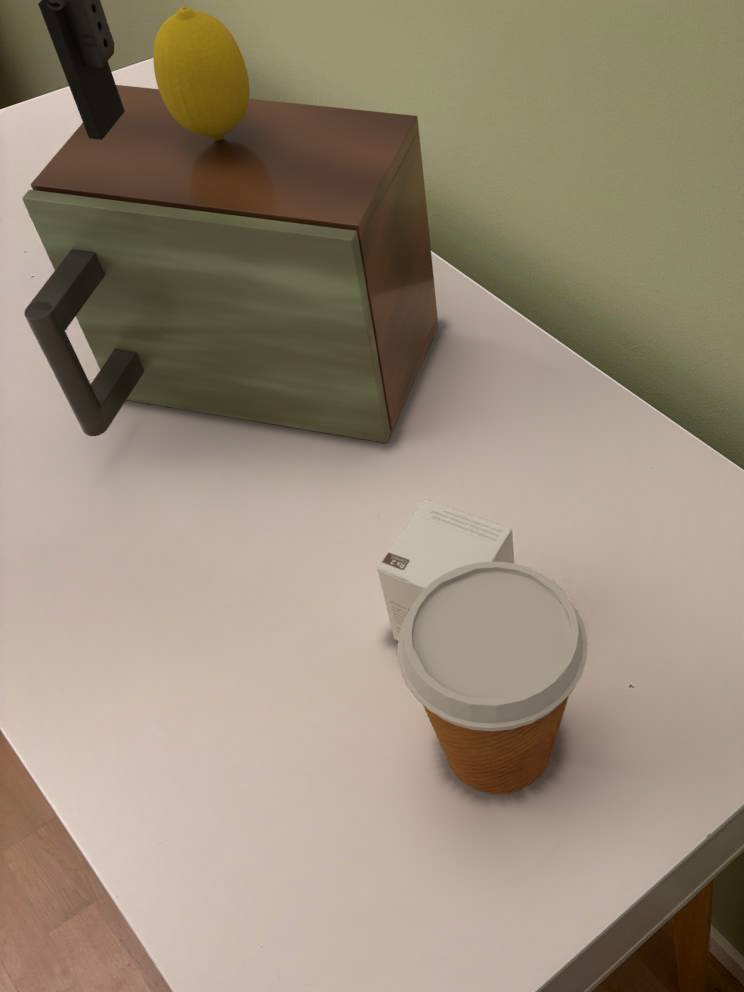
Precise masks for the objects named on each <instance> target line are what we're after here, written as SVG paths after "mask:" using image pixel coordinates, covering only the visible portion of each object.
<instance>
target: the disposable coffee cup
mask: <svg viewBox="0 0 744 992" xmlns="http://www.w3.org/2000/svg"><path fill="white" fill-rule="evenodd" d="M588 645H589V643H588V634H587V631H586V626H585V624H584V622H583V619H582V616H581V615H580V612H579V611H578V609H577V608H576V607H575V605H574V604H573V603H572V602H571V600H570V599H569V597H568V595H567V594H566V593H565V592H564V591H563V590H562V588H561V587H559V585H558V584H557V583H555V582H554V581H553V580H552V579H550V578H549V577H547V576H546V575H544V574H542V572H539V571H537V570H535V569H532V568H530V567H528V566H526V565H522V564H516V563H514V564H513V563H507V562H481V563H475V564H469V565H466V566H462V567H459V568H456V569H454V570H452V571H450V572H448V573H445V574H444V575H442V576H440V577H439V578H437V579H436V580H434V581H433V582H432V583H431V584H430V585H429V586H427V587H426V588H425V589H424V590H423V591H422V592H421V594H420V595H419V596H418V598H417V599H416V600H415V602H414V604H413V606H412V607H411V609H410V611H409V613H408V615H407V616H406V618H405V620H404V622H403V625H402V628H401V630H400V633H399V639H398V641H397V646H396V648H397V662H398V667H399V669H400V673H401V676H402V678H403V681H404V684H405V685H406V687H407V688H408V689H409V691H410V692H411V694H412V695H413V697H414V698H415V699H416V700H417V701H418V702H419V703H420V704H421V705H422V706H423V708H424V711H425V713H426V715H427V717H428V719H429V722H430V725H431V726H432V729H433V731H434V733H435V736H436V737H437V740H438V742H439V743H440V746H441V748H442V751H443V752H444V755H445V757H446V760H447V762H448V765H449V767H450V769H451V770H452V771H453V773H454V775H455V776H456V777H457V778H458V779H459V780H460V781H461V782H462V783H464V784H465V785H467V786H468V787H470V788H472V789H475V790H477V791H479V792H483V793H488V794H491V795H492V794H496V795H501V794H510V793H515V792H519V791H521V790H523V789H524V788H526V787H528V786H530V785H532V784H534V782H536V781H538V779H539V778H540V777H541V776H542V775H543V774H544V772H545V771H546V769H547V767H548V765H549V764H550V762H551V760H552V756H553V751H554V747H555V744H556V741H557V737H558V734H559V730H560V727H561V723H562V720H563V717H564V713H565V710H566V707H567V703H568V700H569V696H570V695H571V694H572V693H573V692H574V690H575V688H576V686H577V684H578V683H579V681H580V680H581V678H582V675H583V672H584V669H585V665H586V662H587V659H588V658H587V657H588Z"/></svg>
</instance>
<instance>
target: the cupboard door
mask: <svg viewBox="0 0 744 992" xmlns="http://www.w3.org/2000/svg"><path fill="white" fill-rule="evenodd" d="M21 200H22V203H23V205H24V207H25V208H26V211H27V213H28V215H29V217H30V219H31V223H32V224H33V227H34V228H35V230H36V233H37V235H38V237H39V239H40V241H41V243H42V246H43V248H44V250H45V253H46V254H47V257H48V259H49V262H50V263H51V266H52V268H53V270H54V271H53V272H52V273H51V275H50V277H49V278H47V280H46V282H45V283H44V284H43V286H42V287H41V288H40V290H39V291H38V292H37V293H36V294H35V296H34V297H33V298H32V300H31V301H30V303H29V304H28V305H27V306H26V307H25V309H24V313H23V315H24V317H25V320H26V321H27V323H28V325H29V327H30V329H31V332H32V334H33V335H34V337H35V340H36V341H37V343H38V345H39V348H40V350H41V351H42V353H43V355H44V358H45V359H46V361H47V363H48V365H49V367H50V369H51V371H52V373H53V375H54V377H55V378H56V380H57V382H58V385H59V386H60V388H61V390H62V392H63V394H64V396H65V398H66V400H67V402H68V404H69V407H70V408H71V410H72V412H73V414H74V417H75V418H76V420H77V423H78V424H79V426H80V428H81V430H82V432H83V434H85V435H86V436H88V437H98V436H101V435H103V434H104V433H105V432H107V430H108V429H109V428H110V426H111V425H112V423H113V421H114V420H115V418H116V416H117V415H118V414H119V412H120V411H121V409H122V408H123V406H124V404H125V403H126V401H131V402H136V403H137V402H138V403H144V404H150V405H156V406H162V407H168V408H174V409H180V410H185V411H186V410H187V411H191V412H197V413H204V414H210V415H216V416H223V417H228V418H233V419H241V420H245V421H252V422H258V423H263V424H264V423H265V424H271V425H277V426H284V427H288V428H295V429H301V430H307V431H313V432H320V433H325V434H331V435H336V436H337V435H338V436H342V437H343V436H344V437H350V438H356V439H363V440H368V441H374V442H379V443H385V444H386V443H388V440H389V438H390V436H391V433H392V432H390V427H389V421H388V415H387V409H386V403H385V397H384V391H383V385H382V379H381V373H380V367H379V361H378V355H377V349H376V343H375V337H374V330H373V324H372V318H371V312H370V306H369V300H368V294H367V288H366V282H365V276H364V270H363V264H362V258H361V252H360V246H359V240H358V234H357V231H354V230H347V229H339V228H331V227H323V226H315V225H307V224H299V223H291V222H283V221H275V220H267V219H259V218H251V217H243V216H235V215H227V214H220V213H212V212H204V211H196V210H188V209H180V208H172V207H164V206H156V205H148V204H140V203H132V202H124V201H116V200H108V199H100V198H92V197H85V196H77V195H69V194H61V193H53V192H45V191H37V190H33V189H28V190H27V191H26V193H24V195H23V196H22V198H21ZM75 318H76V320H77V322H78V325H79V326H80V329H81V330H82V333H83V335H84V337H85V340H86V342H87V344H88V347H89V348H90V350H91V353H92V355H93V357H94V359H95V361H96V364H97V365H98V368H99V371H98V372H97V374H96V375H95V377H94V379H92V381H91V383H90V380H89V378H88V377H87V374H86V372H85V369H84V368H83V365H82V363H81V361H80V359H79V357H78V355H77V352H76V351H75V349H74V347H73V344H72V342H71V340H70V338H69V336H68V334H67V332H66V331H67V329H68V328H69V326H70V325H71V323H72V322H73V321H74V319H75Z"/></svg>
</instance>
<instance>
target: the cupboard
mask: <svg viewBox="0 0 744 992" xmlns="http://www.w3.org/2000/svg"><path fill="white" fill-rule="evenodd" d="M116 87H117V90H118V93H119V96H120V99H121V101H122V104H123V107H124V110H125V112H124V113H123V114H122V116H121V117H120V118H119V119H118V121H117V122H116V123H115V124H114V126H113V127H112V128H111V129H110V131H109V132H108V133H107V134H106V136H105V137H104V138H103V139H102V140H98V139H89V137H88V135H87V132H86V129H85V127H84V124H83V122H82V123H81V124H80V125H79V126H80V127H79V126H78V127H79V128H78V127H77V128H78V129H77V128H76V129H77V130H76V131H75V130H74V131H75V132H74V131H73V134H72V135H71V136H70V137H69V138H68V140H66V142H65V143H64V144H63V145H62V147H61V148H59V149H58V151H57V152H56V154H55V155H54V156H52V158H51V160H50V161H49V162H48V163H47V164H46V165H45V166H44V168H43V169H42V170H41V172H39V173H38V175H37V176H36V177H35V178H34V179H33V181H32V182H31V183H30V187H31V190H37V191H45V192H53V193H61V194H69V195H77V196H85V197H92V198H100V199H108V200H116V201H124V202H132V203H140V204H148V205H156V206H164V207H172V208H180V209H188V210H196V211H204V212H212V213H220V214H227V215H235V216H243V217H251V218H259V219H267V220H275V221H283V222H291V223H299V224H307V225H315V226H323V227H331V228H339V229H347V230H354V231H357V234H358V240H359V246H360V252H361V258H362V264H363V270H364V276H365V282H366V288H367V294H368V300H369V306H370V312H371V318H372V324H373V330H374V337H375V343H376V349H377V355H378V361H379V367H380V373H381V379H382V385H383V391H384V397H385V403H386V409H387V415H388V421H389V427H390V433H392V432H393V431H394V429H395V427H396V424H397V423H398V420H399V417H400V415H401V413H402V410H403V408H404V406H405V404H406V401H407V399H408V397H409V394H410V392H411V389H412V387H413V385H414V383H415V380H416V378H417V376H418V373H419V370H420V369H421V368H422V364H423V362H424V359H425V358H426V356H427V353H428V351H429V348H430V346H431V343H432V342H433V339H434V336H435V334H436V332H437V330H438V327H439V319H438V318H439V317H438V307H437V297H436V286H435V277H434V266H433V257H432V248H431V236H430V226H429V218H428V206H427V196H426V188H425V178H424V167H423V155H422V147H421V137H420V128H419V120H418V119H419V117H418V115H412V114H402V113H394V112H383V111H374V110H373V111H372V110H366V109H365V110H364V109H354V108H346V107H345V108H344V107H334V106H325V105H317V104H308V103H307V104H306V103H295V102H288V101H277V100H266V99H258V98H249V100H248V106H247V110H246V112H245V114H244V116H243V118H242V120H241V121H240V123H239V124H238V125H237V126H236V127H235V128H234V129H232V130H231V131H229V132H228V133H226V135H225V136H224V138H223V139H222V140H218V141H217V140H214V139H212V138H210V137H209V136H201V135H198V134H195V133H193V132H191V131H189V130H187V129H186V128H184V127H183V126H182V125H181V124H179V123H178V122H177V121H176V120H175V119H174V118H173V116H172V115H171V114H170V112H169V111H168V109H167V107H166V105H165V103H164V101H163V99H162V97H161V94H160V92H159V89H158V88H150V87H142V86H132V85H131V86H130V85H120V84H116Z"/></svg>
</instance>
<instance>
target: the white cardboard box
mask: <svg viewBox="0 0 744 992" xmlns="http://www.w3.org/2000/svg"><path fill="white" fill-rule="evenodd" d="M513 535H514V534H513V529H512V528H510V527H507V526H504V525H502V524H498V523H495V522H492V521H489V520H487V519H484V518H481V517H479V516H475V515H473V514H470V513H467V512H464V511H461V510H458V509H455V508H453V507H450V506H447V505H445V504H441V503H438V502H436V501H433V500H430V499H427V498H425V499H424V500H423V501H422V502H421V503H420V505H419V506H418V508H417V509H416V510H415V512H414V514H413V515H412V517H411V518H410V520H409V521H408V523H407V524H406V525H405V527H404V528H403V530H402V532H401V533H400V534H399V536H398V538H397V539H396V540H395V542H394V543H393V545H392V546H391V548H390V549H389V550H388V552H387V554H386V555H385V557H384V558H383V559H382V561H381V562H380V563H379V565H378V567H377V569H376V570H377V574H378V578H379V582H380V587H381V590H382V594H383V598H384V603H385V606H386V610H387V611H386V612H387V615H388V619H389V623H390V627H391V632H392V636H393V639H394V640H395V641H397V642H398V639H399V633H400V630H401V628H402V625H403V622H404V620H405V618H406V616H407V615H408V613H409V611H410V609H411V607H412V606H413V604H414V602H415V600H416V599H417V598H418V596H419V595H420V594H421V592H422V591H423V590H424V589H425V588H426V587H427V586H429V585H430V584H431V583H432V582H433V581H434V580H436V579H437V578H439V577H440V576H442V575H444V574H445V573H448V572H450V571H452V570H454V569H456V568H459V567H462V566H466V565H469V564H475V563H481V562H507V563H513V564H515V553H514V550H515V549H514V540H513V539H514V536H513Z"/></svg>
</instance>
